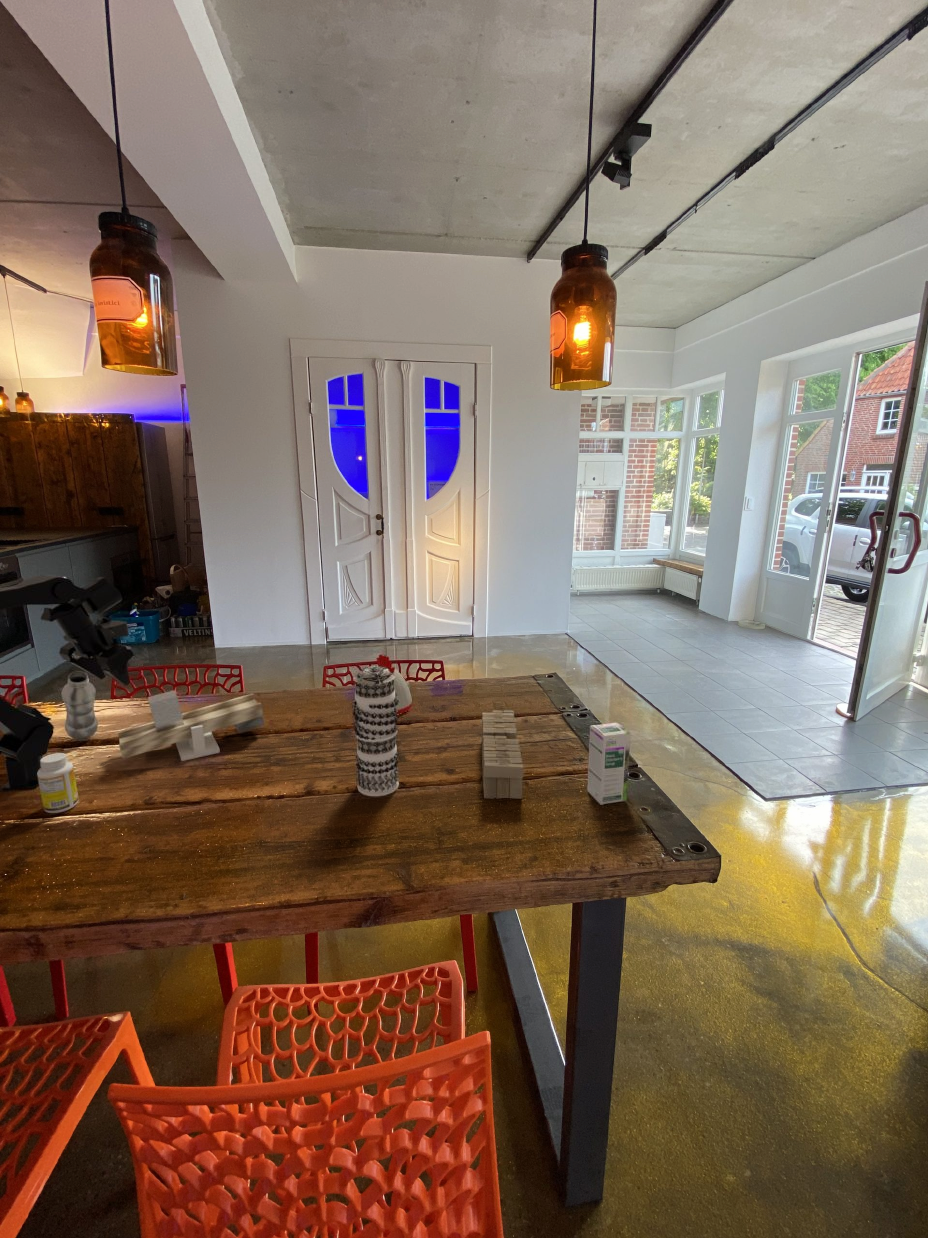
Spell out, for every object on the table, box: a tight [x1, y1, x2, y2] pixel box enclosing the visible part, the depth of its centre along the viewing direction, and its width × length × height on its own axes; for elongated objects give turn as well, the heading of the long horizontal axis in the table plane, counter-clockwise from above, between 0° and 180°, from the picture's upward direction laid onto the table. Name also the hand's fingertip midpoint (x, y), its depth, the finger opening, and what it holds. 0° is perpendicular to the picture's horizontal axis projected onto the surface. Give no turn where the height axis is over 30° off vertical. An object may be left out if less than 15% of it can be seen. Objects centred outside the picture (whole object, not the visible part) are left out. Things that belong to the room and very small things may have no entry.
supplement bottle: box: [37, 752, 80, 814], centre depth 107 cm, size 6×6×10 cm
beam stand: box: [175, 725, 221, 762], centre depth 134 cm, size 8×14×7 cm, turn 33°
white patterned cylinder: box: [351, 665, 400, 797], centre depth 114 cm, size 9×9×25 cm
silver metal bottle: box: [61, 670, 99, 740], centre depth 132 cm, size 6×7×20 cm
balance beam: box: [117, 693, 265, 759], centre depth 133 cm, size 30×8×6 cm, turn 123°
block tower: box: [481, 709, 524, 800], centre depth 124 cm, size 8×8×29 cm
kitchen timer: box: [375, 654, 413, 714], centre depth 157 cm, size 14×14×15 cm
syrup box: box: [586, 721, 631, 806], centre depth 111 cm, size 6×6×14 cm
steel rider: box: [147, 690, 184, 733], centre depth 129 cm, size 6×4×8 cm
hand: (115, 681), depth 132 cm, fingers open, 9 cm apart
